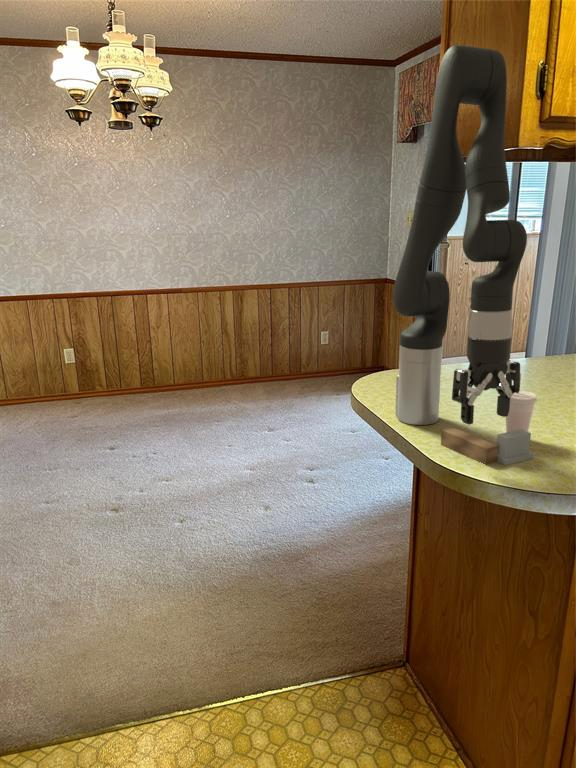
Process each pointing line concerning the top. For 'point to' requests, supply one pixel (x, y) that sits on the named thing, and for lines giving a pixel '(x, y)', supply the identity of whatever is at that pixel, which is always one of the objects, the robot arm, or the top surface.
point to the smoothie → (520, 411)
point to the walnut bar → (469, 445)
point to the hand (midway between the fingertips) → (485, 419)
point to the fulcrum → (513, 447)
